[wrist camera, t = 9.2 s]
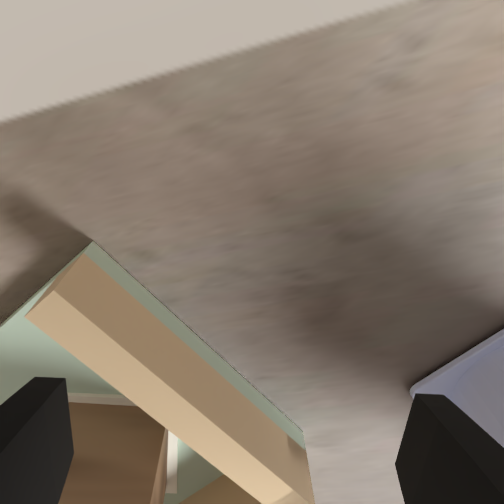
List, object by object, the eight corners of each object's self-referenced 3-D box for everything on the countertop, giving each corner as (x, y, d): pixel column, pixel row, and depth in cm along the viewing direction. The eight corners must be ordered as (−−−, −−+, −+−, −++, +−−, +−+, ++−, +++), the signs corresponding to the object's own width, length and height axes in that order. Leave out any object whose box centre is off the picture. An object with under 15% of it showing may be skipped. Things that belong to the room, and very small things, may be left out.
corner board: (302, 431, 23) (315, 508, 19) (59, 587, 27) (30, 674, 23) (92, 240, 18) (53, 290, 14) (-156, 466, 23) (-236, 549, 19)
